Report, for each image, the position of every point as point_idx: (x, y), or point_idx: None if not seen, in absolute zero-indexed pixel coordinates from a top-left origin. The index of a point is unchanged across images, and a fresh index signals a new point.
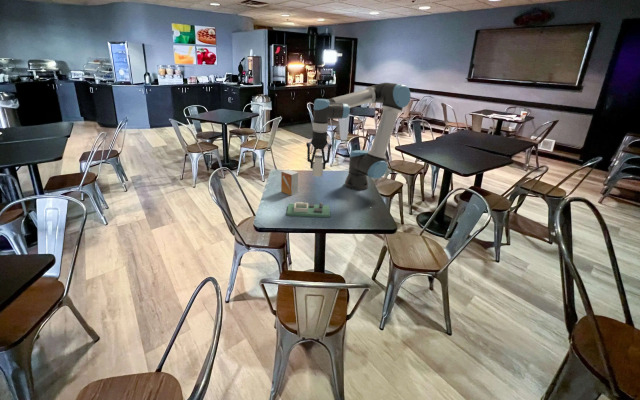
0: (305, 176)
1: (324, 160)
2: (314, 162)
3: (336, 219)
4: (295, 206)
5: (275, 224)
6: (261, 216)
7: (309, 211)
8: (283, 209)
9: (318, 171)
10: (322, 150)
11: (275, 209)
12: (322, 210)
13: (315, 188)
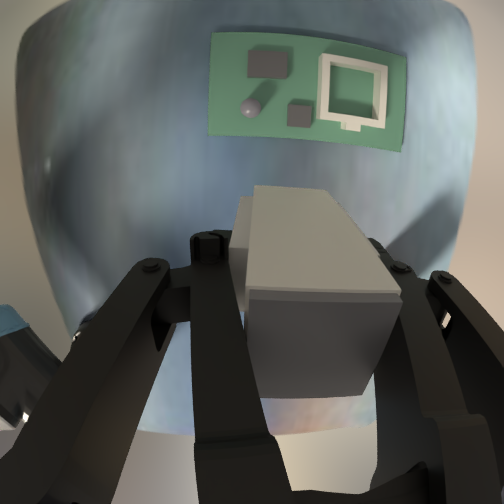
0: (293, 409)
1: (203, 281)
2: (370, 250)
3: (184, 22)
4: (381, 82)
5: (427, 6)
6: (474, 74)
7: (310, 63)
8: (416, 116)
9: (287, 200)
10: (243, 463)
11: (441, 121)
12: (244, 74)
13: None
